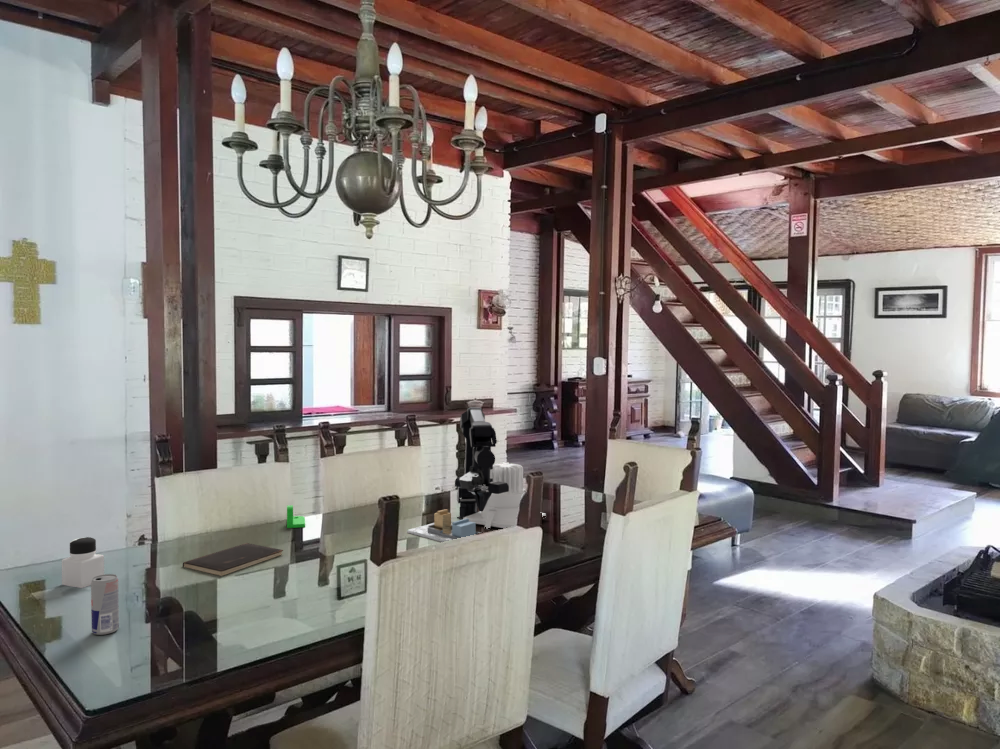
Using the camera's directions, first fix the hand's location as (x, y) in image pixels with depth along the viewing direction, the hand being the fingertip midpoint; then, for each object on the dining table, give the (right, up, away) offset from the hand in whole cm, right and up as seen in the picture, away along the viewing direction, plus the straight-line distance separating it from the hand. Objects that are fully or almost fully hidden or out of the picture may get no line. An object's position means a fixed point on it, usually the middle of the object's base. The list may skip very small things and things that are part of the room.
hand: (481, 511), depth 234 cm
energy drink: (-82, -13, -72) cm, 110 cm away
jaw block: (-13, -9, +11) cm, 20 cm away
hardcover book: (-72, -12, -20) cm, 76 cm away
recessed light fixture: (+8, -10, +29) cm, 31 cm away
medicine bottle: (-105, -12, -41) cm, 113 cm away
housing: (-6, -9, +5) cm, 12 cm away
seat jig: (-13, -10, +11) cm, 19 cm away
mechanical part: (-66, -10, +22) cm, 70 cm away
